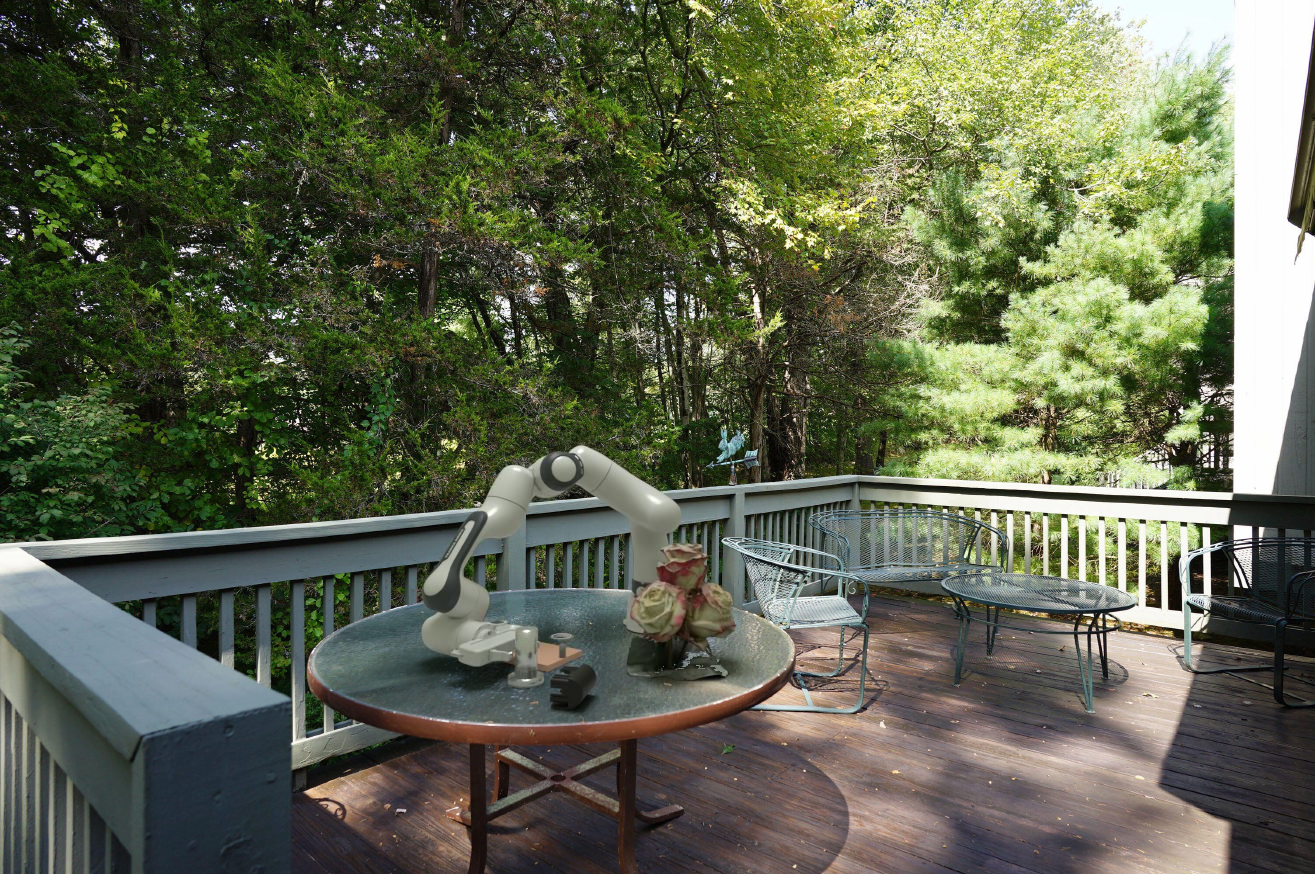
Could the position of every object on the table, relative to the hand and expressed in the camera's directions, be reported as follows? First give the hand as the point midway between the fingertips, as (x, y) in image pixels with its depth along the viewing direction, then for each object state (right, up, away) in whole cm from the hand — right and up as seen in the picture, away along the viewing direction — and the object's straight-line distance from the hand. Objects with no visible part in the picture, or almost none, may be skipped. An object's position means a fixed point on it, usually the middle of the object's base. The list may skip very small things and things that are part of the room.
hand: (524, 651), depth 161 cm
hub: (0, -7, 0) cm, 7 cm away
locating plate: (+1, -7, +16) cm, 18 cm away
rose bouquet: (+36, -8, +14) cm, 39 cm away
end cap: (+12, -7, -12) cm, 18 cm away
